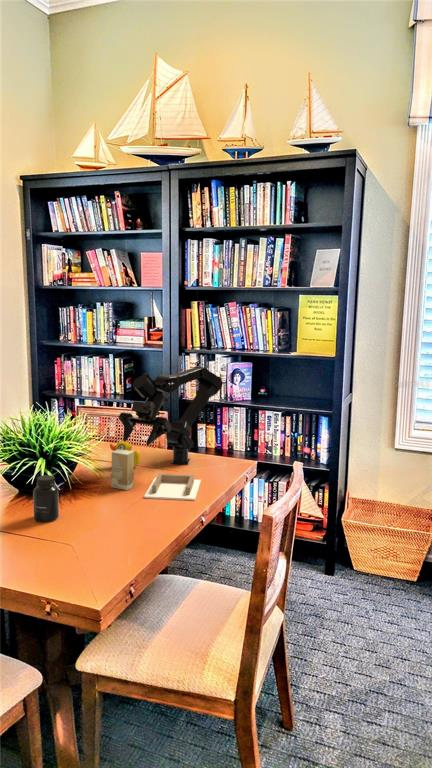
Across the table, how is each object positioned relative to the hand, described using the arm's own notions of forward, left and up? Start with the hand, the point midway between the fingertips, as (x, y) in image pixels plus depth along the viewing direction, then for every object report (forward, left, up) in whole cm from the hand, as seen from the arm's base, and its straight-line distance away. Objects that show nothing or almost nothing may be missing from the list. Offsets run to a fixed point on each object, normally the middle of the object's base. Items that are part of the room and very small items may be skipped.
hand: (135, 442), depth 188 cm
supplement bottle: (+35, -18, -13) cm, 42 cm away
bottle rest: (+7, +14, -13) cm, 21 cm away
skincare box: (+7, -3, -13) cm, 15 cm away
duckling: (-14, -7, -13) cm, 20 cm away
